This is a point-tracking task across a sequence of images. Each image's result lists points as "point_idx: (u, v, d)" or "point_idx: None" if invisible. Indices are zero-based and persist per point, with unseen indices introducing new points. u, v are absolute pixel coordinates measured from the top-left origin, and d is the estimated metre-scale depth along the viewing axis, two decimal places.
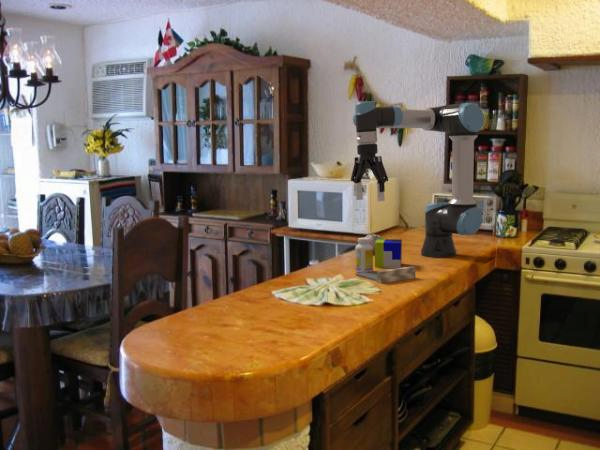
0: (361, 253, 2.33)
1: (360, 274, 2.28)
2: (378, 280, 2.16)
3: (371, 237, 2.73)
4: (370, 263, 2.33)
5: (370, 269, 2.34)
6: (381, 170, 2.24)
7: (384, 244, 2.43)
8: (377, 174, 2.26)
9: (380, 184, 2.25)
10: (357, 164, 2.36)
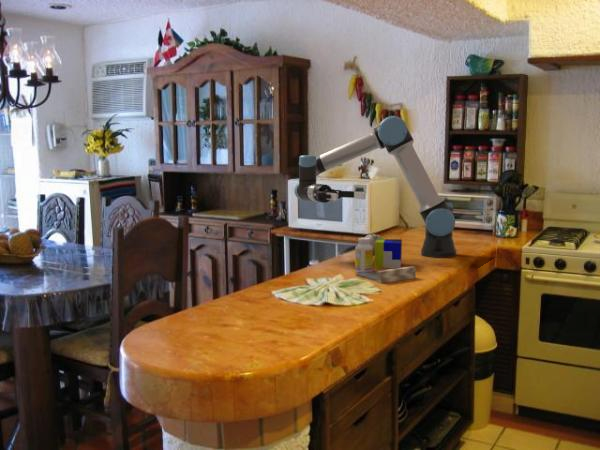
0: (361, 253, 2.33)
1: (360, 274, 2.28)
2: (378, 280, 2.16)
3: (371, 237, 2.73)
4: (370, 263, 2.33)
5: (370, 269, 2.34)
6: (316, 196, 2.45)
7: (384, 244, 2.43)
8: None
9: (325, 197, 2.42)
10: None
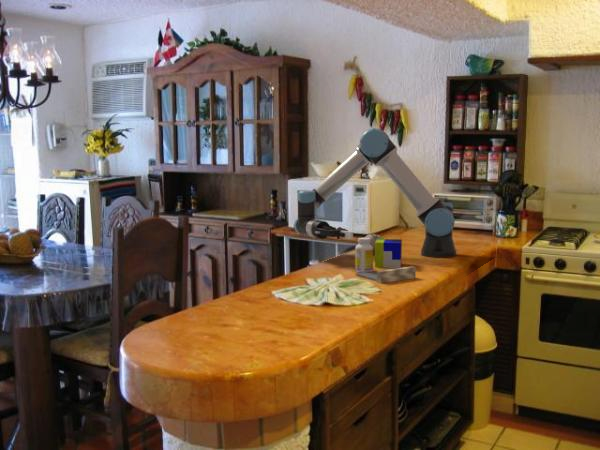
0: (361, 253, 2.33)
1: (360, 274, 2.28)
2: (378, 280, 2.16)
3: (371, 237, 2.73)
4: (370, 263, 2.33)
5: (370, 269, 2.34)
6: (326, 234, 2.48)
7: (384, 244, 2.43)
8: None
9: (339, 235, 2.46)
10: None
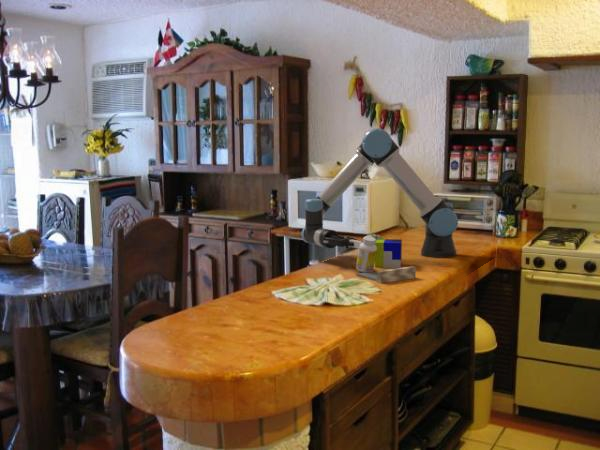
0: (364, 254, 2.31)
1: (360, 274, 2.28)
2: (378, 280, 2.16)
3: None
4: (372, 264, 2.33)
5: (371, 269, 2.33)
6: (334, 243, 2.43)
7: (384, 244, 2.43)
8: (341, 244, 2.44)
9: None
10: None
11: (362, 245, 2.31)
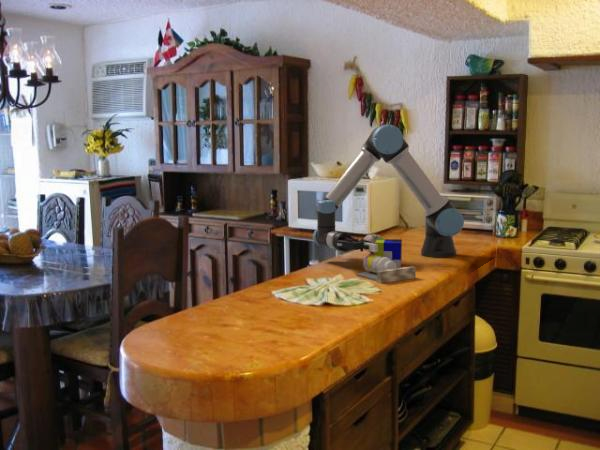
0: (375, 270, 2.26)
1: (360, 274, 2.28)
2: (378, 280, 2.16)
3: (371, 237, 2.73)
4: None
5: None
6: (348, 246, 2.36)
7: (384, 244, 2.43)
8: None
9: None
10: None
11: (381, 266, 2.24)
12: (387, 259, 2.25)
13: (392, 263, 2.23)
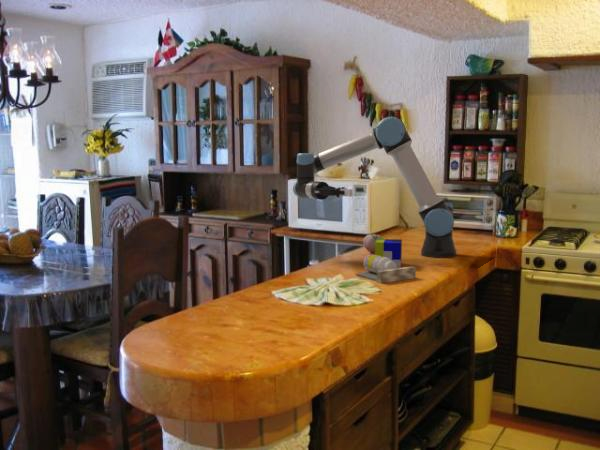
0: (375, 270, 2.26)
1: (360, 274, 2.28)
2: (378, 280, 2.16)
3: (371, 237, 2.73)
4: None
5: None
6: (325, 193, 2.47)
7: (384, 244, 2.43)
8: (332, 193, 2.48)
9: (339, 194, 2.45)
10: None
11: (381, 265, 2.24)
12: (387, 259, 2.25)
13: (392, 263, 2.23)
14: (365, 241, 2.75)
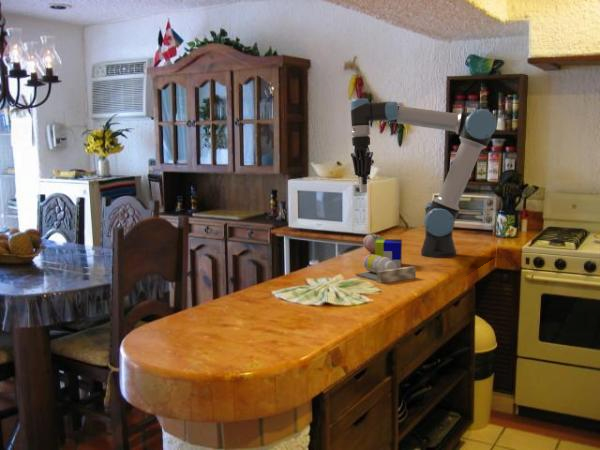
0: (375, 270, 2.26)
1: (360, 274, 2.28)
2: (378, 280, 2.16)
3: (371, 237, 2.73)
4: None
5: None
6: (367, 165, 2.57)
7: (384, 244, 2.43)
8: (363, 168, 2.59)
9: (363, 177, 2.60)
10: (355, 158, 2.64)
11: (381, 265, 2.24)
12: (387, 259, 2.25)
13: (392, 263, 2.23)
14: (365, 241, 2.75)
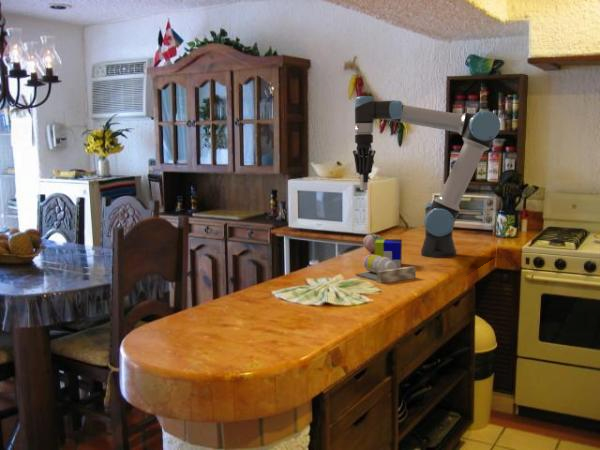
0: (375, 270, 2.26)
1: (360, 274, 2.28)
2: (378, 280, 2.16)
3: (371, 237, 2.73)
4: None
5: None
6: (369, 163, 2.57)
7: (384, 244, 2.43)
8: (365, 165, 2.59)
9: (364, 175, 2.60)
10: (357, 155, 2.64)
11: (381, 265, 2.24)
12: (387, 259, 2.25)
13: (392, 263, 2.23)
14: (365, 241, 2.75)
